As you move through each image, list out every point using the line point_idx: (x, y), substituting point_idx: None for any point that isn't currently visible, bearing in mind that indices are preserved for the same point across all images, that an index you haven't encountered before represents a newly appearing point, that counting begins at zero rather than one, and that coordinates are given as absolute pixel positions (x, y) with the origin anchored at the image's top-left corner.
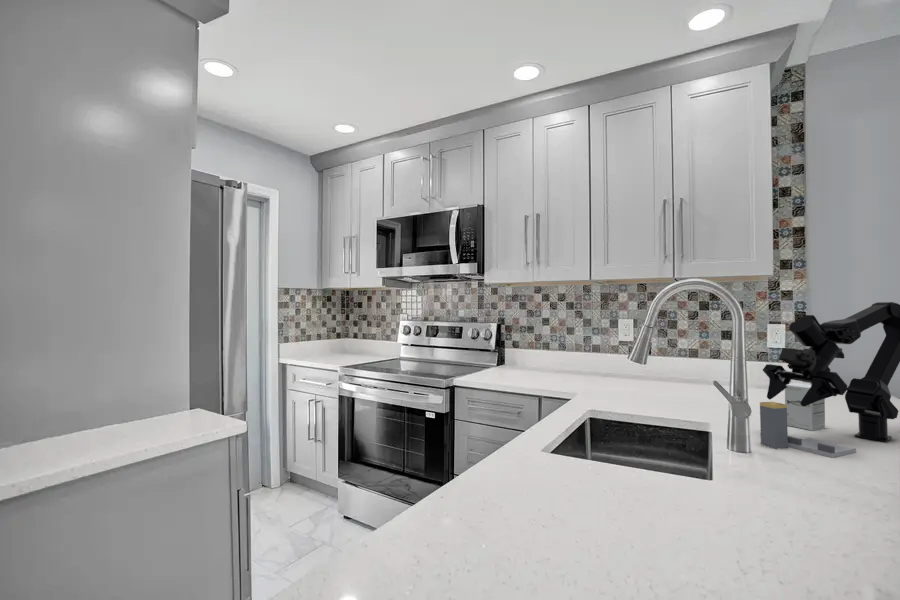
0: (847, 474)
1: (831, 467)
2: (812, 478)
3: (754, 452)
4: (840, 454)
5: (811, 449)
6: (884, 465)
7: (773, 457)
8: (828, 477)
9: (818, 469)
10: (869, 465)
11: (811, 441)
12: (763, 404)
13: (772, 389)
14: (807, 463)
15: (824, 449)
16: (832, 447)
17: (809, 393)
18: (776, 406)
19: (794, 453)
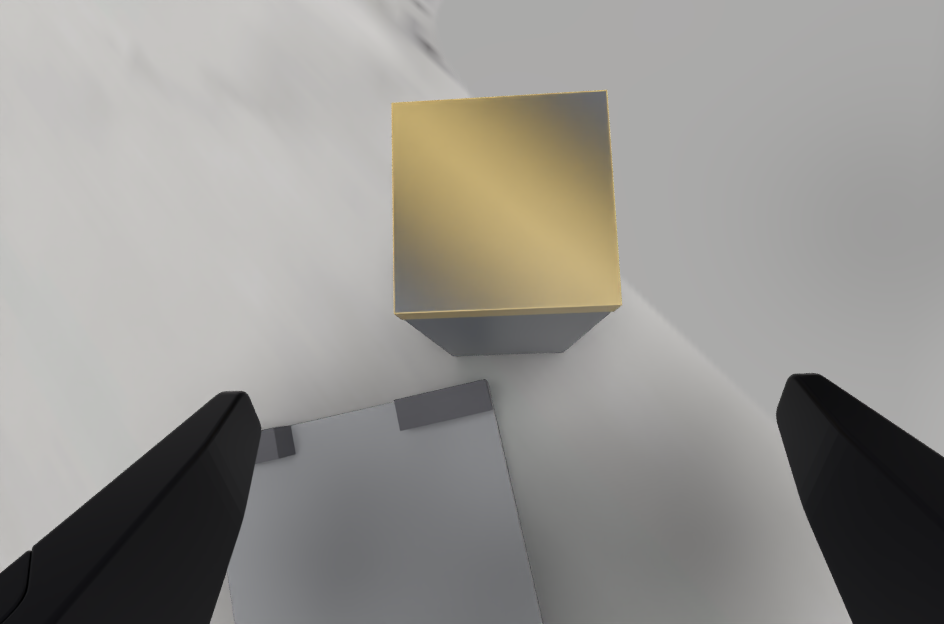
0: (6, 238)
1: (103, 262)
2: (22, 19)
3: (418, 67)
4: None
5: (330, 417)
6: None
7: (316, 99)
8: (7, 104)
9: (101, 163)
10: None
11: (467, 595)
12: (545, 101)
13: (900, 514)
14: (187, 195)
15: None
16: None
17: (56, 539)
18: (395, 148)
19: (348, 289)
